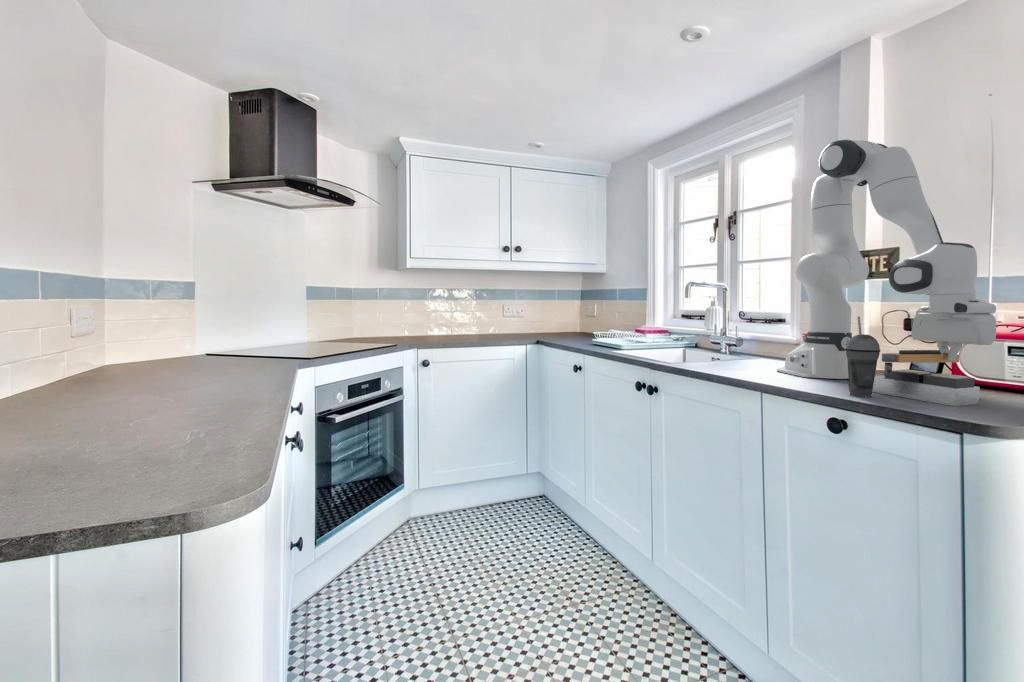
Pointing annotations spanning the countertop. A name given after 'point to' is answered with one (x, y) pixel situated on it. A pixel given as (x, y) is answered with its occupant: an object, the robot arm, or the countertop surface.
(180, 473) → the countertop surface
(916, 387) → the stacked block stand
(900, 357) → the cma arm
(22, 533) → the countertop surface
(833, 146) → the robot arm
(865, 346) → the beverage cup
